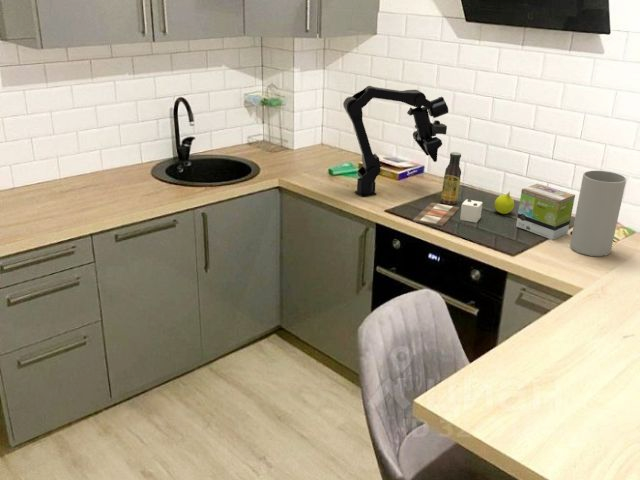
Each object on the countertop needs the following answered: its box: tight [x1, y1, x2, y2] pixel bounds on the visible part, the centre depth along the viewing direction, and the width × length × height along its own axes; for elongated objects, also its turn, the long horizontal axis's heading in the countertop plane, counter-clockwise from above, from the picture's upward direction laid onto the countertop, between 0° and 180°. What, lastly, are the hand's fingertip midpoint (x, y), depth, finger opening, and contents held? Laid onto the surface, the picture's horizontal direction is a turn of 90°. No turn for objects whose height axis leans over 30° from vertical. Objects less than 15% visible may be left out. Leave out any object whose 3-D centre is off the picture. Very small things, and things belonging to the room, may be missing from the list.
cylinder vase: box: [569, 170, 627, 257], centre depth 205 cm, size 12×12×25 cm
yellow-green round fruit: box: [494, 191, 515, 215], centre depth 237 cm, size 7×7×10 cm
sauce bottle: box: [440, 151, 462, 206], centre depth 245 cm, size 6×6×20 cm
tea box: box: [515, 183, 576, 241], centre depth 221 cm, size 15×10×15 cm
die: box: [459, 198, 484, 223], centre depth 232 cm, size 6×6×7 cm
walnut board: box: [412, 202, 460, 228], centre depth 236 cm, size 21×11×1 cm, turn 152°
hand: (431, 158), depth 255 cm, fingers open, 9 cm apart
